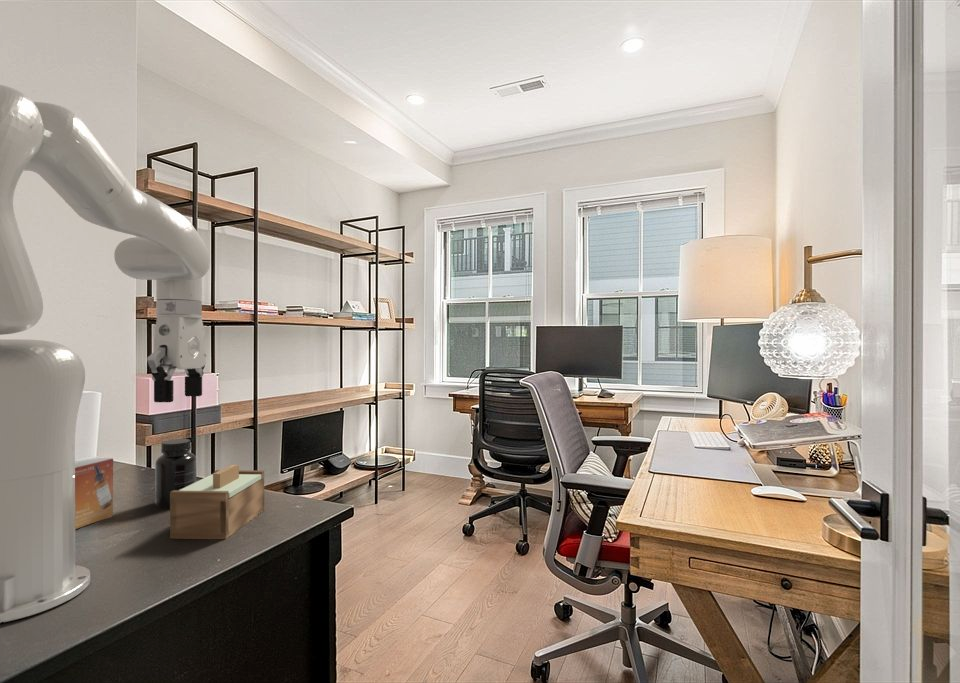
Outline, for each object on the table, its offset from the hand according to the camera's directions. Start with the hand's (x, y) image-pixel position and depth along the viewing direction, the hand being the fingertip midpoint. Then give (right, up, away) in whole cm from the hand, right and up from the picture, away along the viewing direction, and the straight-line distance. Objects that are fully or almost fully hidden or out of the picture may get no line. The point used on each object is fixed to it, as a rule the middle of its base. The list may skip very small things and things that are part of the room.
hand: (179, 398), depth 94 cm
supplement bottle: (-1, -20, 0) cm, 20 cm away
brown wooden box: (+14, -20, -10) cm, 26 cm away
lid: (+14, -14, -10) cm, 22 cm away
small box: (-11, -20, -10) cm, 25 cm away
